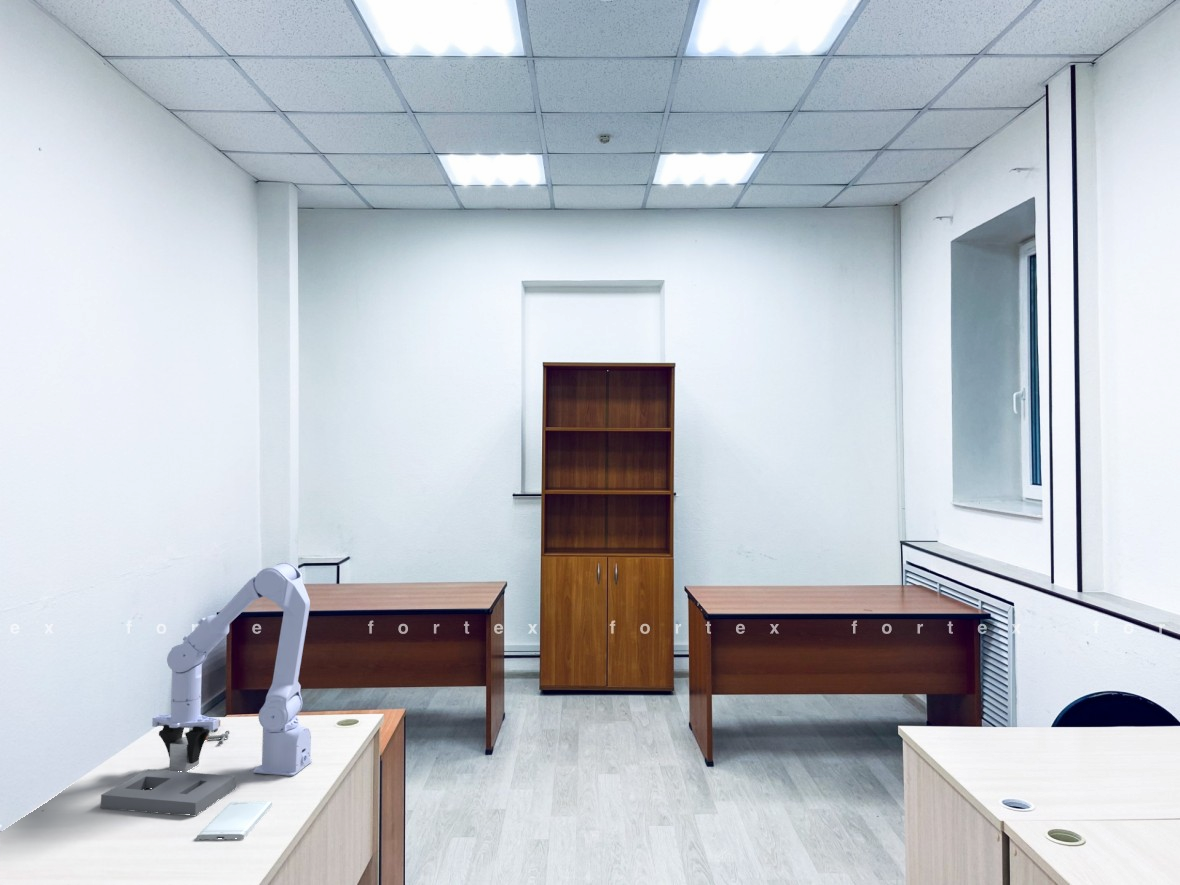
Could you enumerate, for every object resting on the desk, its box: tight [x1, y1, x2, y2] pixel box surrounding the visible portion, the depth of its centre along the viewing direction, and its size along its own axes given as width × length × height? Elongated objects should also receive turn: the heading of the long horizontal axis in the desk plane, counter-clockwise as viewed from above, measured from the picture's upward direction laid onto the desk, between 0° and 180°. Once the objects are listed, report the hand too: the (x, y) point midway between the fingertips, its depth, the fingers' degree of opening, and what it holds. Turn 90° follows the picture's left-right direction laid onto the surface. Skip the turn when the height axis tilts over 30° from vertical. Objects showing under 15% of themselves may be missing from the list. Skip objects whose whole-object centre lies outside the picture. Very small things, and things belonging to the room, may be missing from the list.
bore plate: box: [100, 768, 237, 816], centre depth 143 cm, size 20×12×2 cm, turn 82°
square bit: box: [168, 736, 200, 772], centre depth 157 cm, size 4×4×6 cm
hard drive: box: [196, 800, 273, 840], centre depth 134 cm, size 2×8×12 cm
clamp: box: [188, 719, 231, 745], centre depth 176 cm, size 15×2×10 cm
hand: (184, 761), depth 157 cm, fingers closed on square bit, 4 cm apart
